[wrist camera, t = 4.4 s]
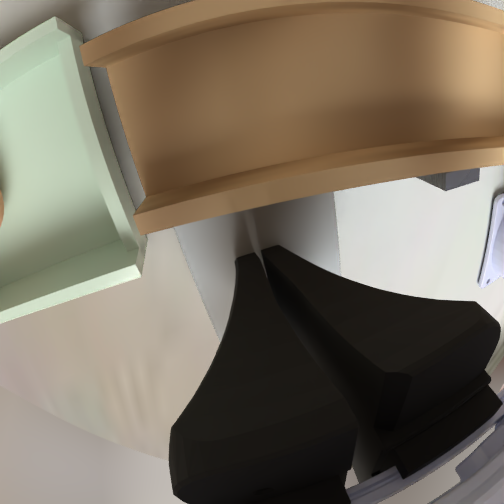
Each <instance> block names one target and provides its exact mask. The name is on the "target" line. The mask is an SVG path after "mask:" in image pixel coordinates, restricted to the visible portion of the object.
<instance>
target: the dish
mask: <svg viewBox="0 0 504 504" xmlns="http://www.w3.org/2000/svg"><path fill="white" fill-rule="evenodd" d="M82 44H84V42H83V37H82V33H81V32H79V31H78V30H76V29H75V28H73V27H72V26H70V25H69V24H67V23H65V22H64V21H62V20H61V19H59V18H58V17H56V16H55V17H53V18H51V19H49V20H47V21H45V22H44V23H42V24H40V25H38V26H37V27H35V28H33V29H31V30H30V31H28V32H26V33H25V34H23V35H22V36H20V37H19V38H17V39H15V40H14V41H12V42H11V43H9V44H8V45H6V46H5V47H4V48H2V49H1V50H0V190H1V193H2V196H3V201H4V216H3V221H2V224H1V227H0V324H1V323H4V322H7V321H9V320H12V319H15V318H18V317H21V316H24V315H27V314H30V313H33V312H36V311H39V310H42V309H45V308H48V307H51V306H54V305H57V304H60V303H63V302H66V301H69V300H72V299H75V298H78V297H81V296H84V295H87V294H90V293H93V292H96V291H99V290H102V289H106V288H109V287H112V286H115V285H118V284H121V283H124V282H127V281H130V280H133V279H136V278H139V277H142V271H143V264H144V258H145V253H146V247H147V241H148V240H147V238H146V235H140V233H139V231H138V228H137V226H136V223H135V221H134V218H133V215H134V213H135V212H136V210H135V208H134V205H133V203H132V200H131V197H130V195H129V192H128V189H127V187H126V184H125V181H124V178H123V176H122V173H121V170H120V167H119V164H118V161H117V158H116V155H115V153H114V150H113V147H112V143H111V140H110V137H109V134H108V131H107V128H106V125H105V121H104V118H103V115H102V111H101V108H100V104H99V101H98V97H97V94H96V90H95V87H94V83H93V79H92V75H91V71H90V67H89V66H84V64H83V60H82V56H81V52H80V47H79V46H81V45H82Z"/></svg>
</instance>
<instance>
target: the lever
mask: <svg viewBox="0 0 504 504" xmlns="http://www.w3.org/2000/svg"><path fill="white" fill-rule="evenodd" d="M79 47H80V52H81V56H82V60H83V64H84V66H90V67H104V68H106V69H107V73H108V77H109V81H110V85H111V88H112V92H113V95H114V99H115V102H116V106H117V109H118V113H119V116H120V119H121V123H122V126H123V129H124V132H125V136H126V139H127V142H128V145H129V148H130V151H131V154H132V157H133V160H134V163H135V166H136V169H137V172H138V175H139V178H140V181H141V183H142V186H143V189H144V192H145V195H146V198H145V200H144V201H143V202H142V204H141V205H140V206H139V208H138V209H137V210H136V212H135V213H134V215H133V218H134V221H135V223H136V226H137V228H138V231H139V233H140V235H145V234H149V233H152V232H156V231H160V230H164V229H168V228H172V227H174V229H175V232H176V235H177V238H178V240H179V243H180V245H181V248H182V251H183V253H184V256H185V258H186V261H187V264H188V266H189V269H190V271H191V274H192V276H193V279H194V281H195V284H196V286H197V289H198V291H199V294H200V296H201V298H202V301H203V303H204V306H205V308H206V310H207V313H208V315H209V318H210V320H211V322H212V325H213V327H214V329H215V331H216V334H217V336H218V338H219V341H220V343H221V340H222V337H223V334H224V332H225V329H226V325H227V322H228V318H229V315H230V310H231V305H232V301H233V296H234V288H235V278H236V268H235V263H234V261H235V260H236V258H238V257H241V256H244V255H247V254H250V253H253V252H255V253H256V255H257V256H258V257H259V258H260V260H261V262H262V265H263V268H264V270H265V266H264V262H263V258H262V253H261V250H263V249H266V248H269V247H272V246H275V245H280V246H282V247H284V248H286V249H287V250H289V251H291V252H293V253H294V254H296V255H298V256H300V257H302V258H303V259H305V260H307V261H309V262H311V263H313V264H315V265H317V266H319V267H321V268H323V269H325V270H327V271H330V272H332V273H334V274H337V275H339V276H341V267H340V254H339V242H338V231H337V221H336V211H335V202H334V194H333V191H339V190H344V189H349V188H355V187H360V186H366V185H371V184H377V183H382V182H388V181H394V180H400V179H406V178H412V177H418V176H425V175H431V174H438V173H445V172H451V171H458V170H466V169H473V168H481V167H488V166H496V165H504V11H503V10H500V9H497V8H494V7H491V6H488V5H485V4H482V3H479V2H476V1H472V0H194V1H191V2H187V3H184V4H180V5H177V6H174V7H171V8H168V9H165V10H162V11H159V12H156V13H153V14H150V15H148V16H145V17H142V18H140V19H137V20H134V21H132V22H130V23H127V24H125V25H122V26H120V27H118V28H115V29H113V30H111V31H109V32H107V33H105V34H102V35H100V36H98V37H96V38H94V39H92V40H90V41H88V42H86V43H84V44H82V45H81V46H79ZM265 273H266V270H265ZM266 276H267V274H266ZM267 279H268V278H267Z"/></svg>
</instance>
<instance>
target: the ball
mask: <svg viewBox="0 0 504 504" xmlns="http://www.w3.org/2000/svg"><path fill="white" fill-rule="evenodd" d="M3 216H4V201H3V196H2V193H1V190H0V227H1V224H2V221H3Z"/></svg>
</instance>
